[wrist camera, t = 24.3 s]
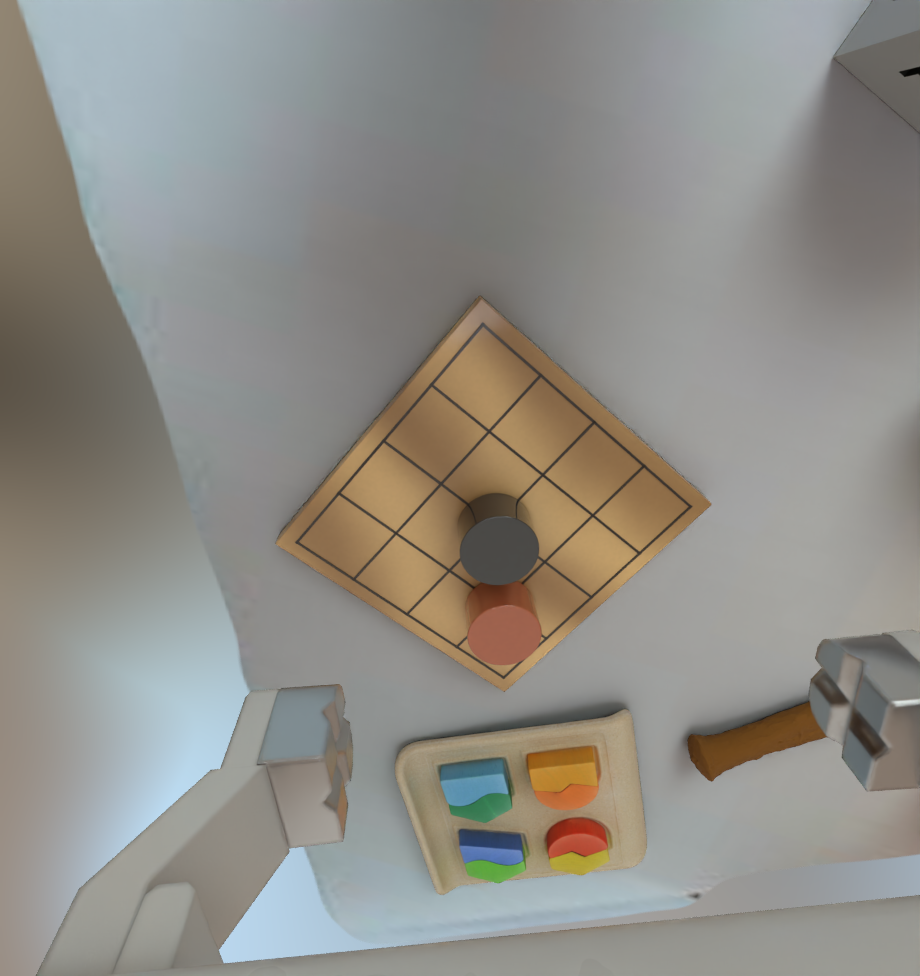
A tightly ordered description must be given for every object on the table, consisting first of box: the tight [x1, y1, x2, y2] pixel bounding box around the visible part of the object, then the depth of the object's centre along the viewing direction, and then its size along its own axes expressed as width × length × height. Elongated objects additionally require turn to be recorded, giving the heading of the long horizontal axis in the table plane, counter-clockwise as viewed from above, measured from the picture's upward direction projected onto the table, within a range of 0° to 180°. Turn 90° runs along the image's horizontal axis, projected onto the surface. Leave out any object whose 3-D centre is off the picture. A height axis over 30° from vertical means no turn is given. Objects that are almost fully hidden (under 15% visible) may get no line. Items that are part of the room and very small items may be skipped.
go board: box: [275, 296, 712, 692], centre depth 42 cm, size 20×20×1 cm
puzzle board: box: [395, 709, 647, 895], centre depth 52 cm, size 18×19×3 cm
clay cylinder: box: [465, 581, 542, 665], centre depth 43 cm, size 5×5×3 cm
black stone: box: [457, 493, 539, 585], centre depth 40 cm, size 5×5×3 cm
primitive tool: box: [688, 701, 827, 781], centre depth 50 cm, size 19×6×4 cm, turn 110°
